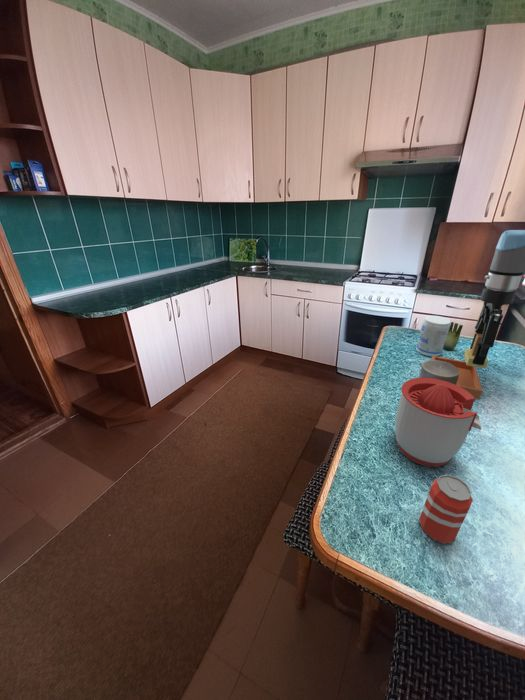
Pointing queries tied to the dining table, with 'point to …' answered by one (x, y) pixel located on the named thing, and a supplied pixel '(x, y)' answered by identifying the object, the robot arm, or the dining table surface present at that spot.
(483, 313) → the robot arm
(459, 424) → the citrus juicer
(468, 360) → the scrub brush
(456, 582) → the dining table surface
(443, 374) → the pillar candle
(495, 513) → the dining table surface
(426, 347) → the supplement tub
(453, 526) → the beverage can
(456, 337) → the fennel bulb
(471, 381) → the orange brown tray
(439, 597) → the dining table surface
